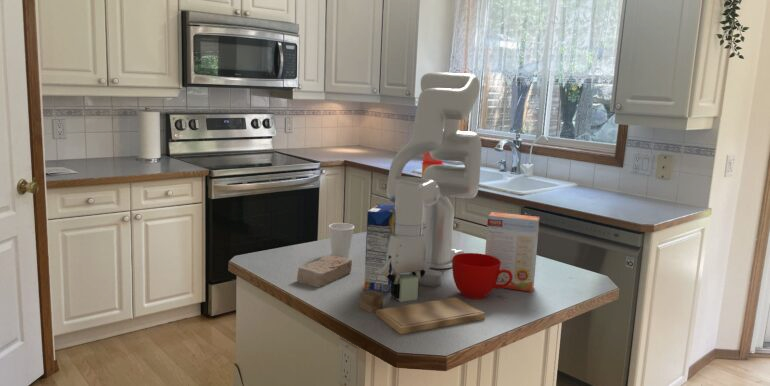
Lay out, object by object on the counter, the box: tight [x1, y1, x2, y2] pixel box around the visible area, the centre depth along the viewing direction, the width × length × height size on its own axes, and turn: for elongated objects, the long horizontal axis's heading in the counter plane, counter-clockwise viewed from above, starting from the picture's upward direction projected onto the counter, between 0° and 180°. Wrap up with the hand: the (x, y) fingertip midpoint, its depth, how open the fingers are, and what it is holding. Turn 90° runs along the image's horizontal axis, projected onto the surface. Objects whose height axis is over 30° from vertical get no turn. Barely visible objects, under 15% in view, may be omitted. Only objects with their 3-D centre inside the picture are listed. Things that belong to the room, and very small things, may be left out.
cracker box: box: [484, 211, 540, 293], centre depth 175 cm, size 14×6×21 cm, turn 71°
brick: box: [296, 254, 353, 288], centre depth 176 cm, size 17×8×5 cm, turn 150°
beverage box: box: [363, 203, 395, 293], centre depth 170 cm, size 7×11×22 cm, turn 164°
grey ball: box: [419, 268, 443, 288], centre depth 176 cm, size 7×7×3 cm
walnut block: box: [359, 290, 384, 314], centre depth 154 cm, size 4×4×4 cm
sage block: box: [393, 272, 419, 303], centre depth 163 cm, size 5×5×6 cm
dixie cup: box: [328, 222, 355, 258], centre depth 198 cm, size 8×8×10 cm
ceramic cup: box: [451, 252, 513, 300], centre depth 166 cm, size 13×17×10 cm
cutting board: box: [375, 296, 486, 335], centre depth 150 cm, size 24×12×2 cm, turn 119°
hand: (404, 294), depth 163 cm, fingers closed on sage block, 5 cm apart
